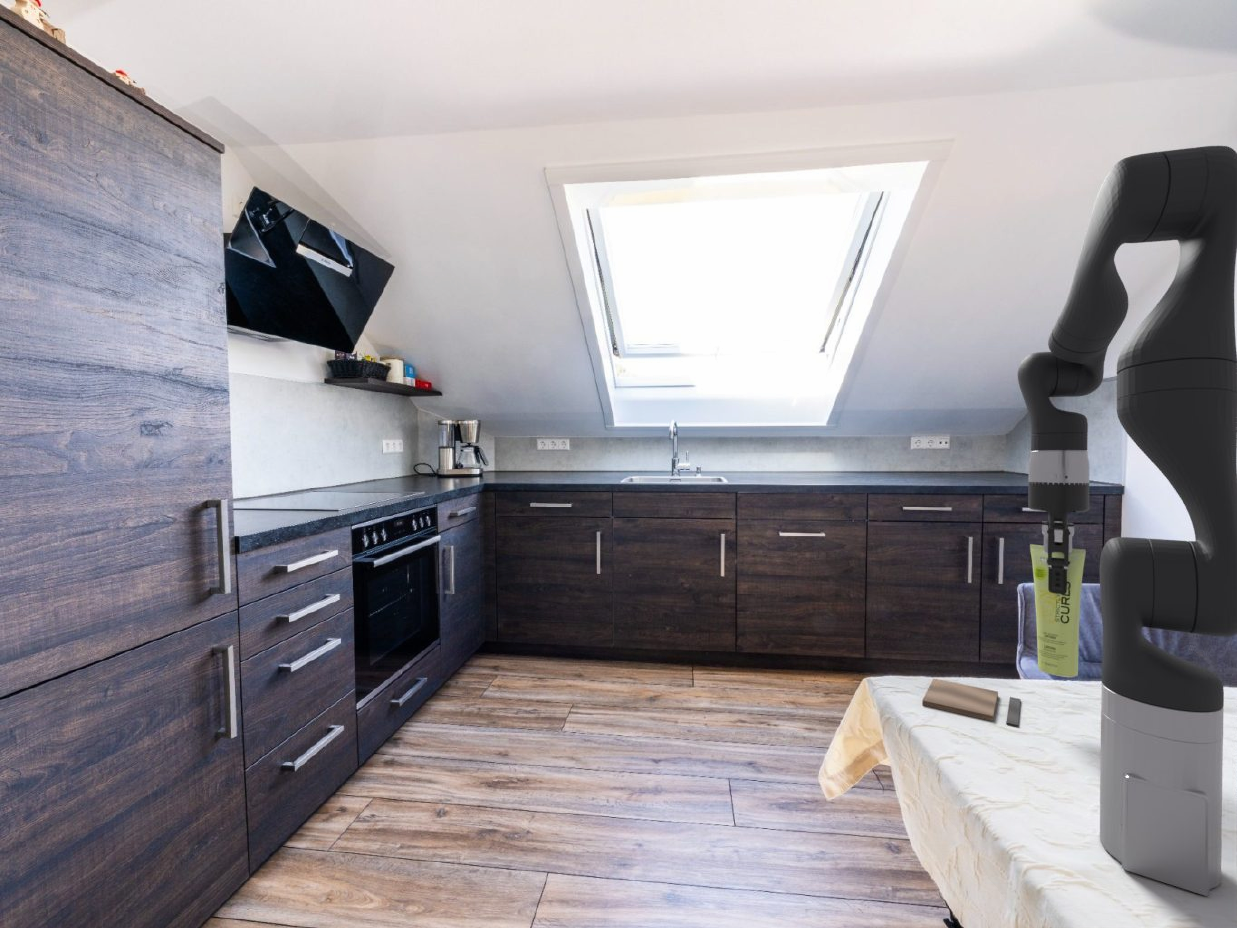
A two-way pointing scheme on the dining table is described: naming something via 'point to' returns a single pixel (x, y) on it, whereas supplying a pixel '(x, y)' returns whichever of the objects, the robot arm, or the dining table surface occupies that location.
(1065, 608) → the tube
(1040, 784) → the dining table surface
